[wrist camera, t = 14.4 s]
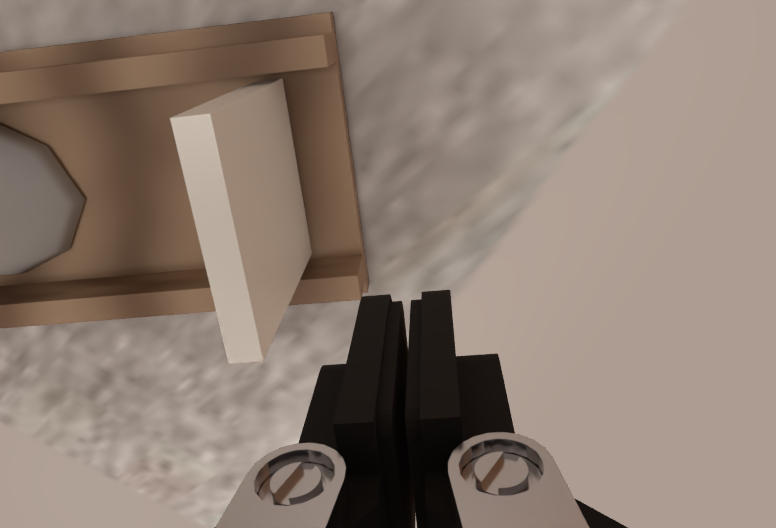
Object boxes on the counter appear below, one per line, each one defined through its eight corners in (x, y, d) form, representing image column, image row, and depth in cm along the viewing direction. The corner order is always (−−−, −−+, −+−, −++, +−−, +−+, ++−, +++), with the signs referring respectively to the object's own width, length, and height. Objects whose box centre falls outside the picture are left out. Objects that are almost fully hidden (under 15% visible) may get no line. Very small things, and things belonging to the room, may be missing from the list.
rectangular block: (287, 255, 30) (228, 363, 21) (255, 80, 27) (169, 118, 18) (311, 253, 30) (263, 361, 21) (282, 78, 27) (210, 113, 18)
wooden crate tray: (-32, 316, 34) (-121, 377, 28) (-133, 68, 29) (-263, 82, 23) (369, 284, 32) (357, 341, 26) (332, 12, 27) (309, 12, 22)
